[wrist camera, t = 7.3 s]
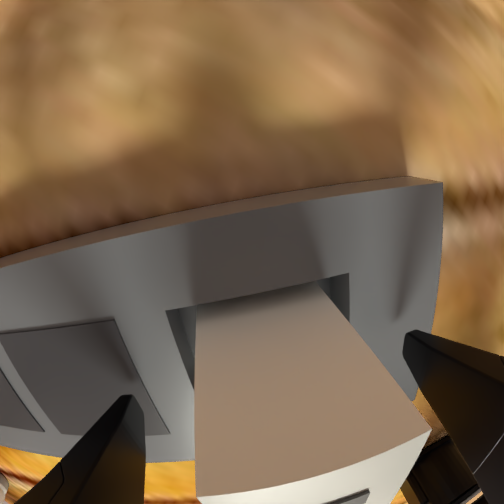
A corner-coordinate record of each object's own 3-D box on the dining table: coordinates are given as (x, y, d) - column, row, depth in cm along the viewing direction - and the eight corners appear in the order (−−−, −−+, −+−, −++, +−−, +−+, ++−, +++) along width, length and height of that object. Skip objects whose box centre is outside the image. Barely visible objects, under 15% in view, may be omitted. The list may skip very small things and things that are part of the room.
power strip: (408, 176, 10) (454, 185, 7) (395, 375, 13) (420, 407, 11) (-111, 299, 7) (-129, 314, 5) (-53, 408, 10) (-65, 427, 8)
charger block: (312, 276, 10) (434, 432, 4) (316, 363, 12) (390, 507, 5) (197, 299, 10) (196, 501, 3) (221, 384, 11) (242, 547, 5)
